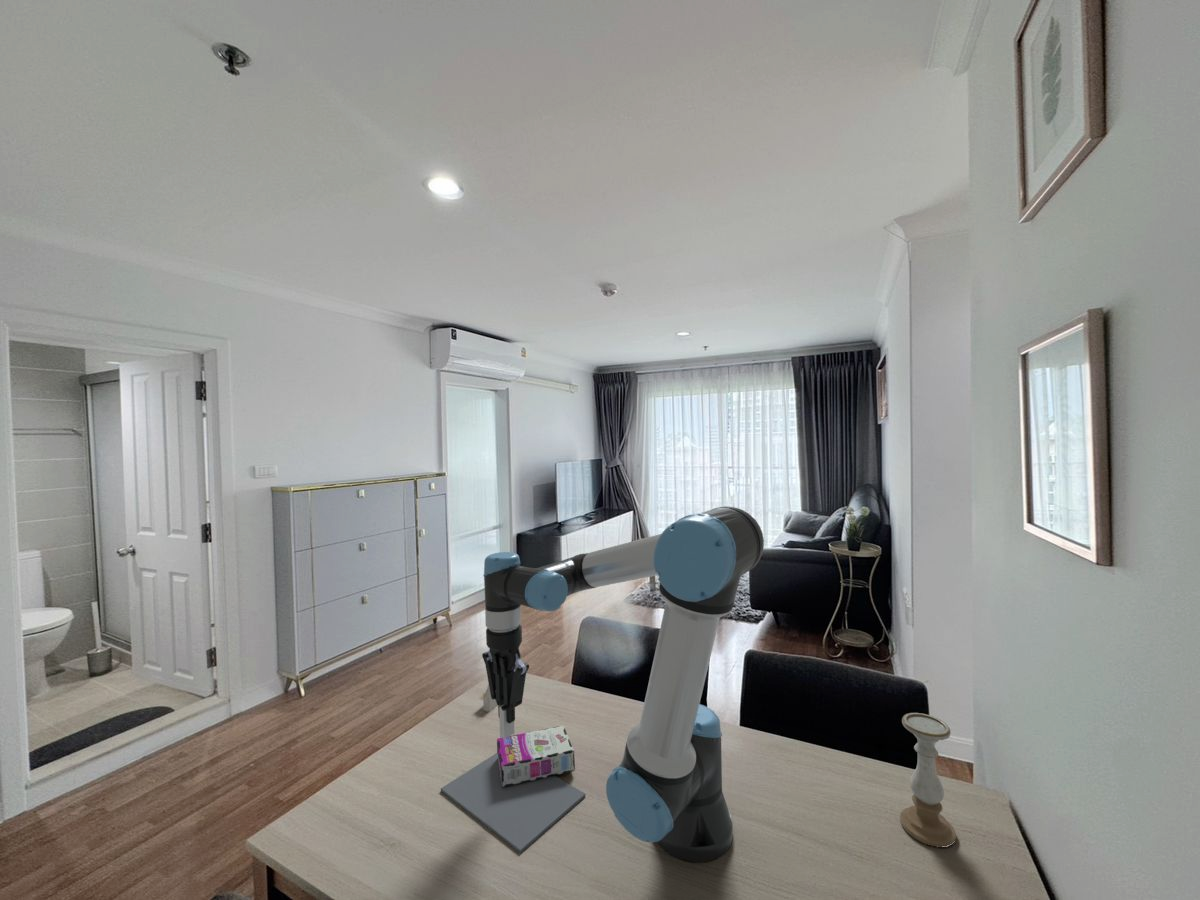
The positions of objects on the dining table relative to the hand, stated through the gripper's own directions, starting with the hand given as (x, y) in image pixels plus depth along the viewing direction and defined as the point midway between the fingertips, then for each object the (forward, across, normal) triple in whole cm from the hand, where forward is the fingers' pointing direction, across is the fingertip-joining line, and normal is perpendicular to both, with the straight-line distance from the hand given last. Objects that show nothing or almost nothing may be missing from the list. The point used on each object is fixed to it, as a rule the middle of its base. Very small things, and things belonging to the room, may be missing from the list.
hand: (507, 734), depth 105 cm
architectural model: (+13, +31, -20) cm, 39 cm away
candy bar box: (+9, +6, -2) cm, 11 cm away
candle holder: (+13, -71, -42) cm, 83 cm away
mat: (+12, -1, 0) cm, 12 cm away
